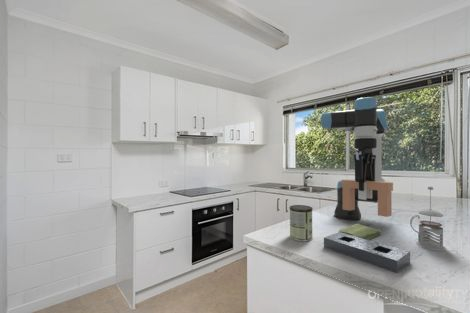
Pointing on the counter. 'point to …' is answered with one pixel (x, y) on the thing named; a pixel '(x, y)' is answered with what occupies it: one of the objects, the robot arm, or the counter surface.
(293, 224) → the coffee can
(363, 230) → the washcloth
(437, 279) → the counter surface
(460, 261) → the counter surface
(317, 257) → the counter surface
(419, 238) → the french press
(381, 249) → the grey slotted base block
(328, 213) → the counter surface
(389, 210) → the staple
